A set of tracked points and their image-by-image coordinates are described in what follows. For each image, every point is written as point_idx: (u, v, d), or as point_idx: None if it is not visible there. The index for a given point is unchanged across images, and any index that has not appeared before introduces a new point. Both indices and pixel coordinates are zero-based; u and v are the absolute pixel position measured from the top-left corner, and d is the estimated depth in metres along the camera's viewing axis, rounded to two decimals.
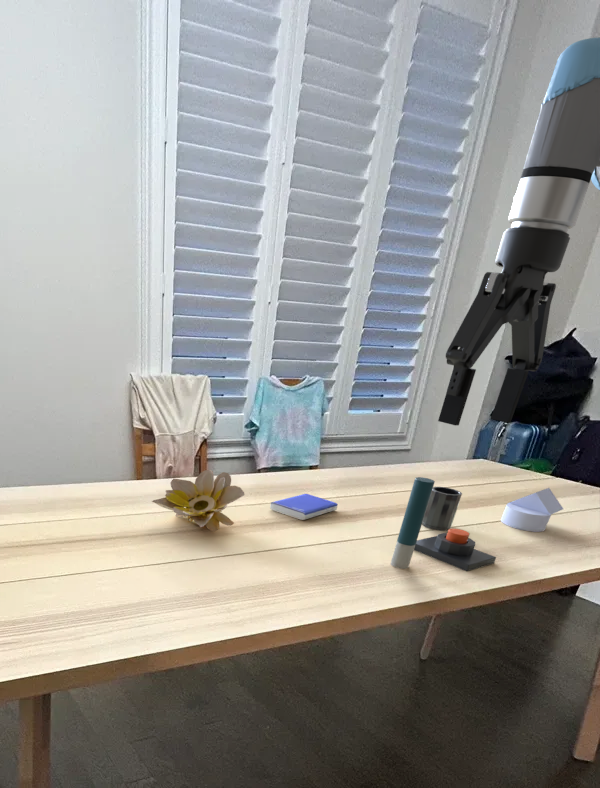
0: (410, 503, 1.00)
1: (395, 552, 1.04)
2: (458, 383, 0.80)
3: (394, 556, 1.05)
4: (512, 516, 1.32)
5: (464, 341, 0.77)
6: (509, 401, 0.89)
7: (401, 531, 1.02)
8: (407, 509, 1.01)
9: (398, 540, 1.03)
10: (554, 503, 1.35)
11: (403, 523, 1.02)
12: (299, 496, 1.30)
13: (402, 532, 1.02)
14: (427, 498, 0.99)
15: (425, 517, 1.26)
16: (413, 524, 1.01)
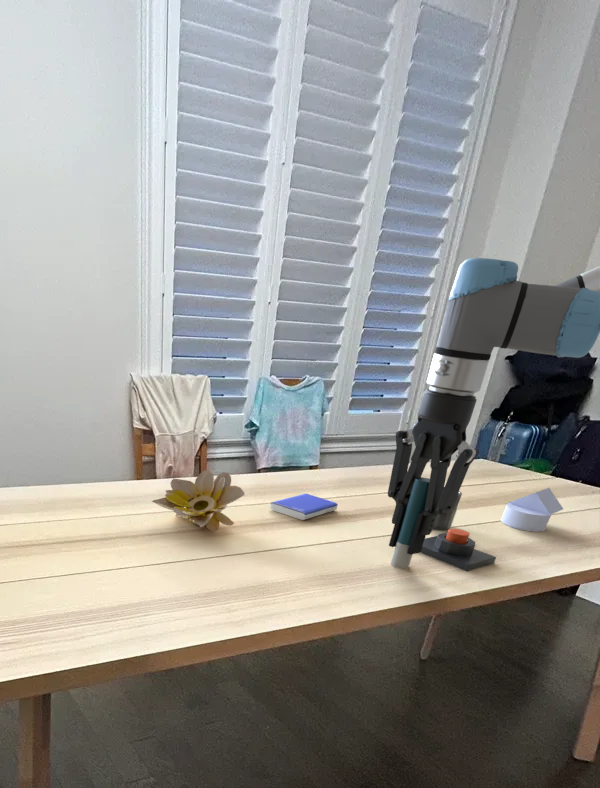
0: (410, 503, 1.00)
1: (395, 552, 1.04)
2: (432, 526, 1.00)
3: (394, 556, 1.05)
4: (512, 516, 1.32)
5: (451, 502, 0.96)
6: None
7: (401, 531, 1.02)
8: (407, 509, 1.01)
9: (398, 540, 1.03)
10: (554, 503, 1.35)
11: (403, 523, 1.02)
12: (299, 496, 1.30)
13: (402, 532, 1.02)
14: None
15: None
16: (413, 524, 1.01)
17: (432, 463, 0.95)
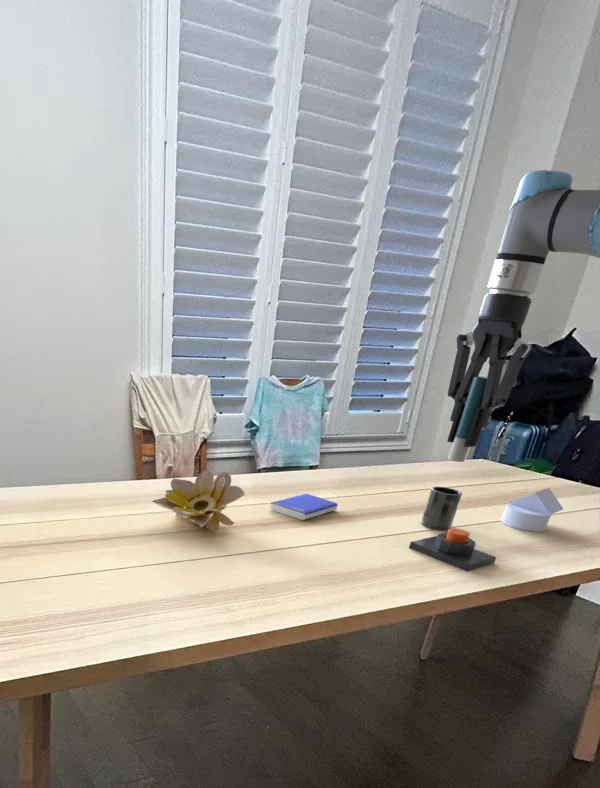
0: (469, 399, 1.14)
1: (453, 446, 1.19)
2: (488, 419, 1.14)
3: (452, 450, 1.19)
4: (512, 516, 1.32)
5: (506, 395, 1.11)
6: None
7: (459, 426, 1.17)
8: (465, 405, 1.15)
9: (456, 435, 1.18)
10: (554, 503, 1.35)
11: (462, 419, 1.16)
12: (299, 496, 1.30)
13: (460, 426, 1.16)
14: None
15: (425, 517, 1.26)
16: (471, 419, 1.15)
17: (490, 360, 1.09)
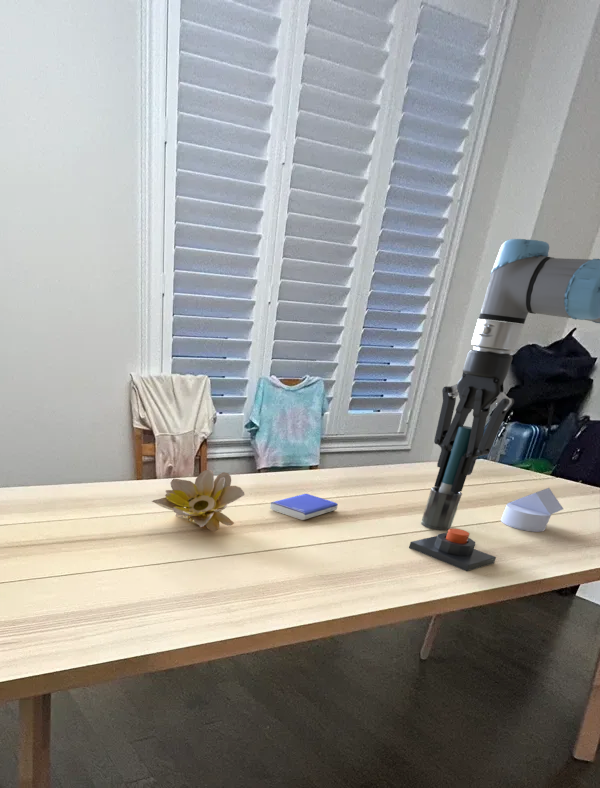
0: (454, 447, 1.19)
1: (440, 491, 1.23)
2: (473, 467, 1.19)
3: None
4: (512, 516, 1.32)
5: (490, 445, 1.15)
6: None
7: (446, 472, 1.22)
8: (451, 453, 1.20)
9: (443, 481, 1.23)
10: (554, 503, 1.35)
11: (448, 466, 1.21)
12: (299, 496, 1.30)
13: (447, 473, 1.21)
14: None
15: (425, 517, 1.26)
16: (456, 466, 1.20)
17: (474, 412, 1.14)
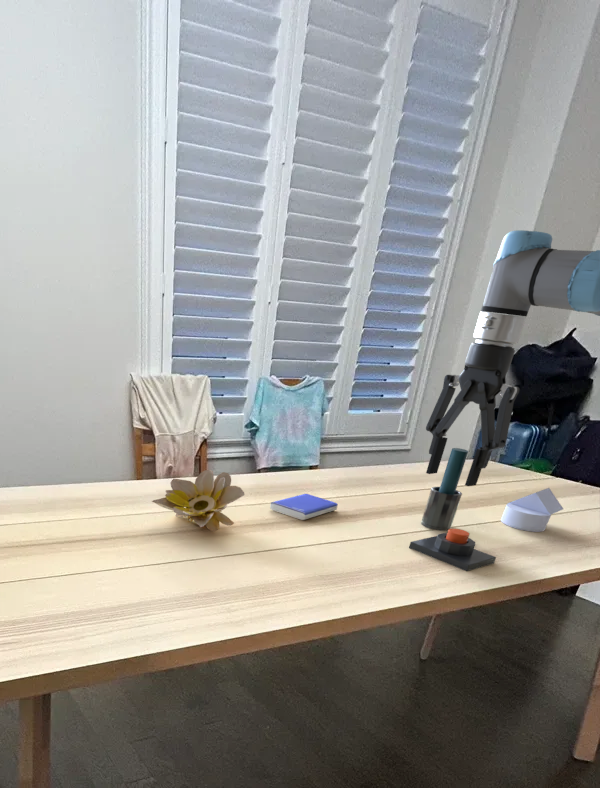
0: (448, 469, 1.21)
1: None
2: (488, 460, 1.17)
3: None
4: (512, 516, 1.32)
5: (504, 436, 1.13)
6: (438, 459, 1.24)
7: None
8: (445, 474, 1.22)
9: None
10: (554, 503, 1.35)
11: (441, 487, 1.23)
12: (299, 496, 1.30)
13: None
14: (462, 465, 1.20)
15: (425, 517, 1.26)
16: (450, 487, 1.22)
17: (480, 405, 1.13)
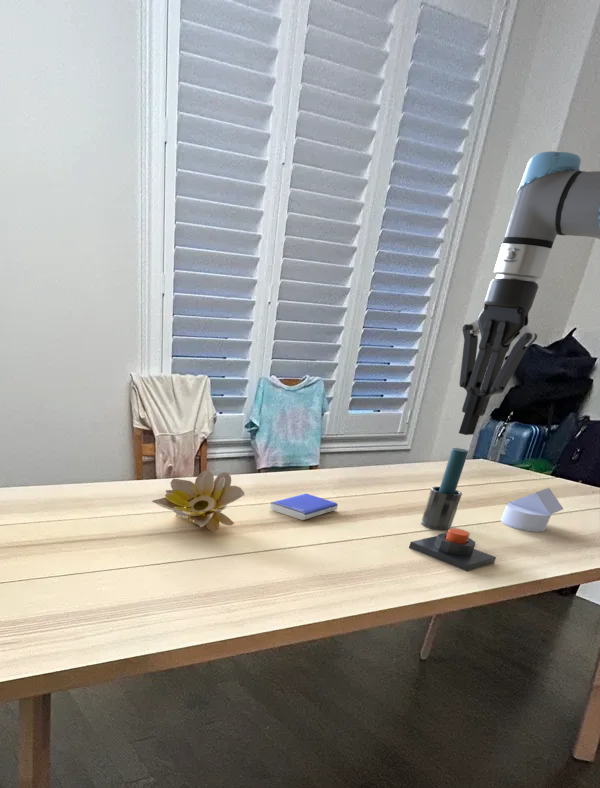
0: (448, 469, 1.21)
1: None
2: (486, 407, 1.14)
3: None
4: (512, 516, 1.32)
5: (505, 383, 1.10)
6: None
7: None
8: (445, 474, 1.22)
9: None
10: (554, 503, 1.35)
11: (441, 487, 1.23)
12: (299, 496, 1.30)
13: None
14: (462, 465, 1.20)
15: (425, 517, 1.26)
16: (450, 487, 1.22)
17: (494, 346, 1.07)
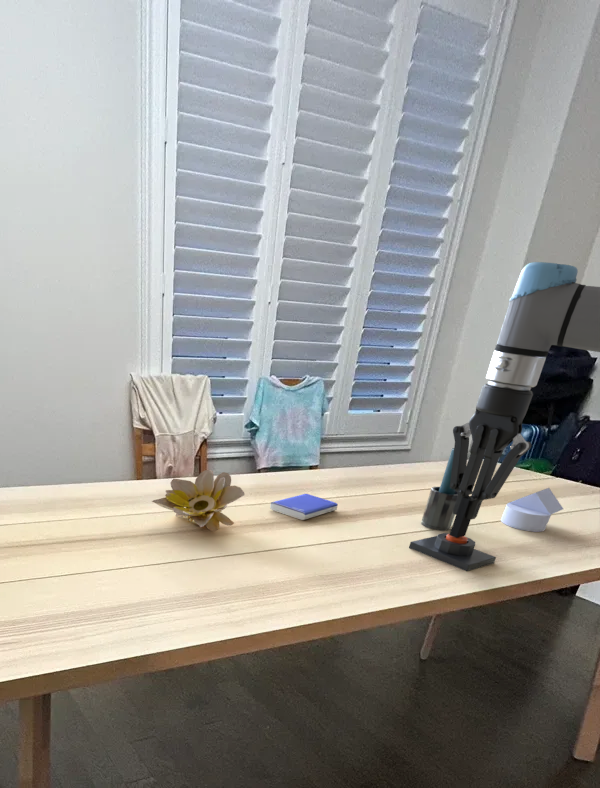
0: (448, 469, 1.21)
1: None
2: (478, 510, 1.08)
3: None
4: (512, 516, 1.32)
5: (498, 489, 1.04)
6: None
7: None
8: (445, 474, 1.22)
9: None
10: (554, 503, 1.35)
11: (441, 487, 1.23)
12: (299, 496, 1.30)
13: None
14: None
15: (425, 517, 1.26)
16: None
17: (486, 452, 1.02)
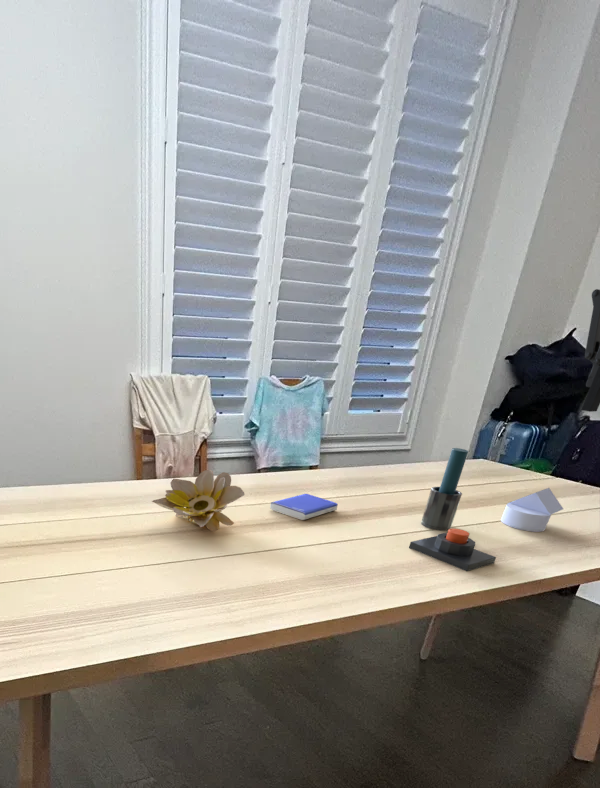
0: (448, 469, 1.21)
1: None
2: None
3: None
4: (512, 516, 1.32)
5: None
6: None
7: None
8: (445, 474, 1.22)
9: None
10: (554, 503, 1.35)
11: (441, 487, 1.23)
12: (299, 496, 1.30)
13: None
14: (462, 465, 1.20)
15: (425, 517, 1.26)
16: (450, 487, 1.22)
17: None
